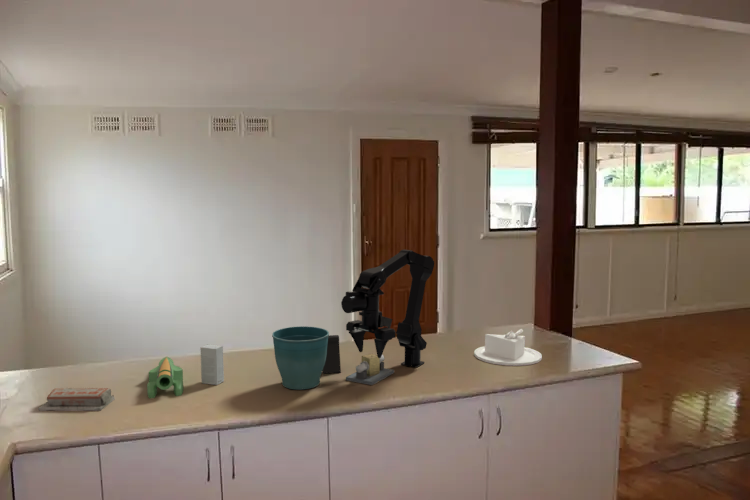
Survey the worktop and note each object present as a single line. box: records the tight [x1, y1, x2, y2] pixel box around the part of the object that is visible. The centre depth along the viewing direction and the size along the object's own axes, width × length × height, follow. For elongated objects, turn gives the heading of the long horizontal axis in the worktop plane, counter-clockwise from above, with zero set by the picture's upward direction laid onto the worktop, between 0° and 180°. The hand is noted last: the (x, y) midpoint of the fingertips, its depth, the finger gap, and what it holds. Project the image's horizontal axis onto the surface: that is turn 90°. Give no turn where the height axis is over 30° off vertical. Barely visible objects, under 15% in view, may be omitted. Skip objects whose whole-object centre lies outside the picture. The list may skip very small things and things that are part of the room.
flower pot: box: [271, 325, 330, 391], centre depth 197 cm, size 18×18×17 cm
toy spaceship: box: [146, 356, 184, 399], centre depth 201 cm, size 32×10×7 cm, turn 18°
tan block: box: [361, 353, 380, 376], centre depth 206 cm, size 5×4×6 cm
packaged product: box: [38, 387, 115, 412], centre depth 180 cm, size 18×5×10 cm
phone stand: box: [322, 334, 342, 375], centre depth 213 cm, size 9×6×12 cm, turn 12°
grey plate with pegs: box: [345, 354, 395, 386], centre depth 206 cm, size 15×10×6 cm, turn 150°
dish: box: [473, 328, 542, 367], centre depth 231 cm, size 25×25×11 cm
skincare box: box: [199, 344, 225, 386], centre depth 199 cm, size 6×4×12 cm
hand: (370, 354), depth 206 cm, fingers open, 9 cm apart
